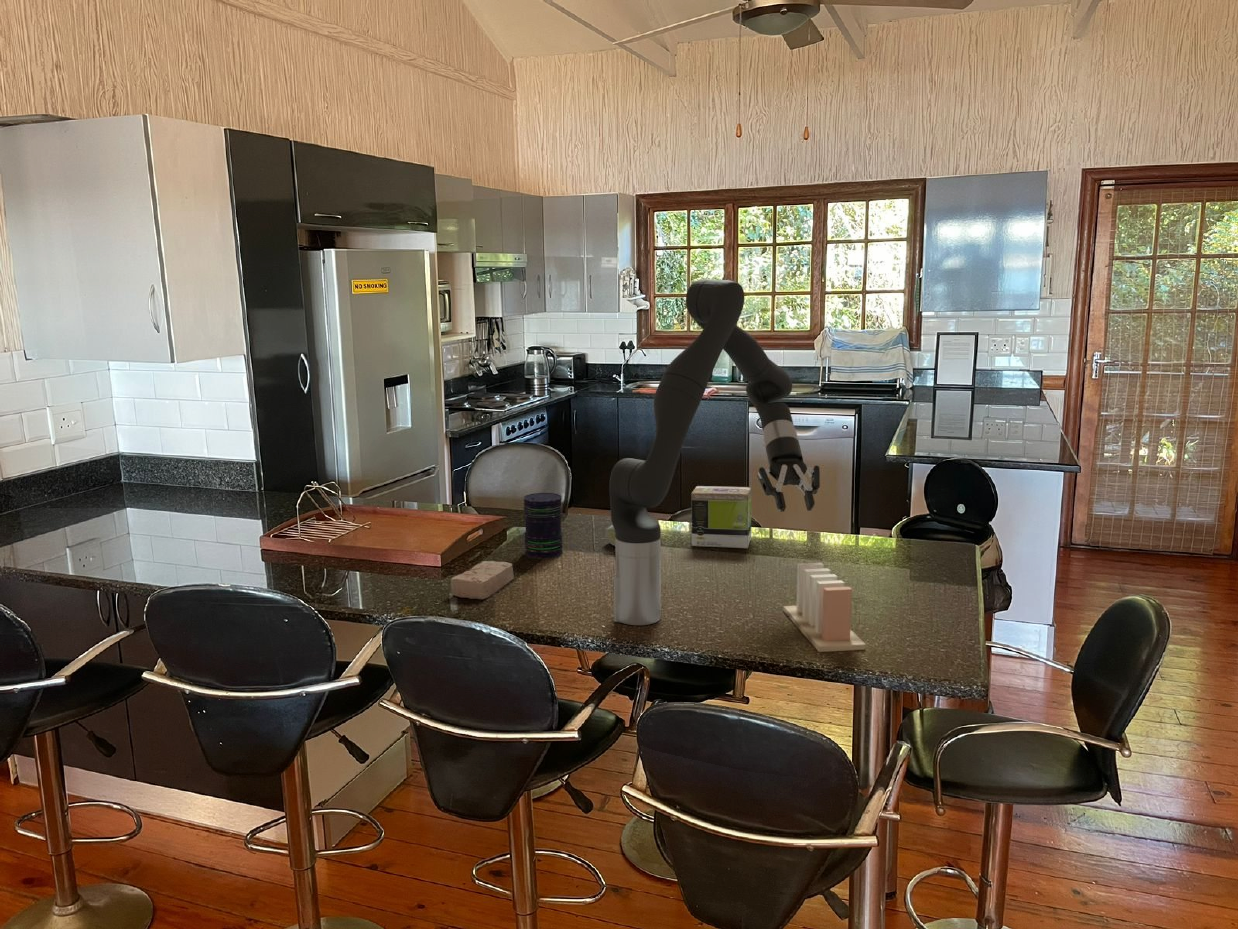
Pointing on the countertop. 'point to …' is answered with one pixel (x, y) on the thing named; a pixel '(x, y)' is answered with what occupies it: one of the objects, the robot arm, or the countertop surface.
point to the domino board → (816, 638)
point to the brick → (482, 580)
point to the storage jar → (543, 525)
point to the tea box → (721, 516)
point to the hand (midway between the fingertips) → (796, 509)
